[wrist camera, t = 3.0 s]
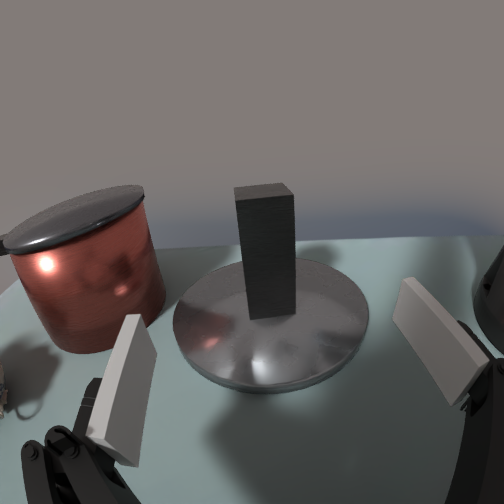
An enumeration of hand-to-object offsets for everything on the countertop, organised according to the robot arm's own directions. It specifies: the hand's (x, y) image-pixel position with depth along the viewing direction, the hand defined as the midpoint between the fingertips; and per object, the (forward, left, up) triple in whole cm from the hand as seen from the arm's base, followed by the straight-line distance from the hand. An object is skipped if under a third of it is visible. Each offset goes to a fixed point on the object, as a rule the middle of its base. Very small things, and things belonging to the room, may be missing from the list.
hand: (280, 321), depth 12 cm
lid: (-1, -10, -8) cm, 13 cm away
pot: (+23, -14, -8) cm, 28 cm away
